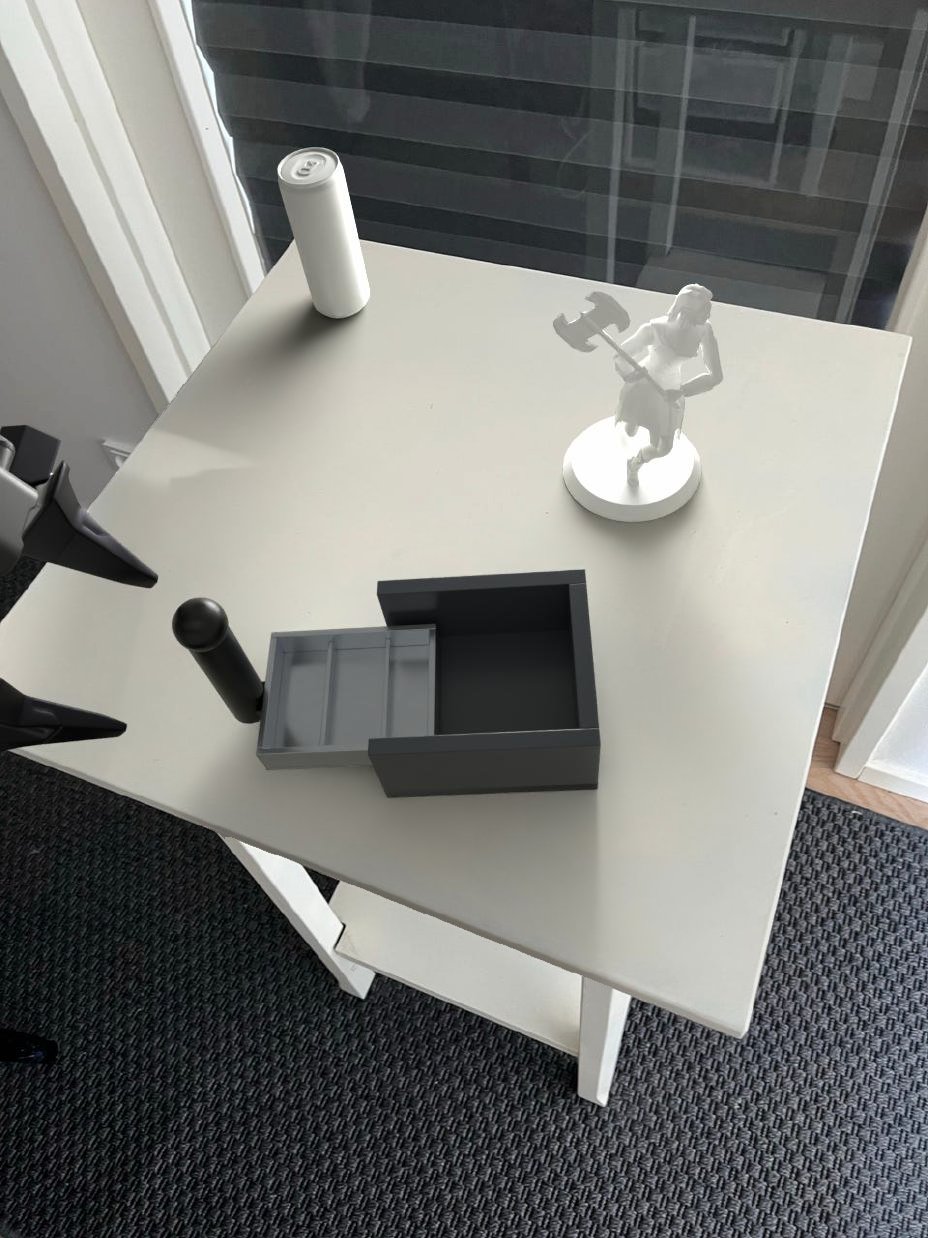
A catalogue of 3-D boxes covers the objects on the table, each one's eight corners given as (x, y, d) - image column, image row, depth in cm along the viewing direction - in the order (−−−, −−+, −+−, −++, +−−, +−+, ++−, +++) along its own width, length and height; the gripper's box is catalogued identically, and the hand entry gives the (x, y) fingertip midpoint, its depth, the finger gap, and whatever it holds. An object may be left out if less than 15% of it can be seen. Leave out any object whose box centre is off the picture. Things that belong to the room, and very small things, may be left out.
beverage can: (381, 289, 77) (353, 151, 67) (354, 327, 75) (320, 190, 65) (331, 278, 79) (296, 141, 68) (303, 314, 76) (262, 178, 66)
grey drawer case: (386, 798, 53) (367, 755, 48) (393, 634, 59) (377, 580, 54) (597, 790, 52) (600, 745, 47) (583, 623, 58) (585, 568, 53)
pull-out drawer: (222, 772, 54) (149, 681, 44) (239, 652, 58) (176, 547, 49) (438, 763, 53) (410, 668, 43) (440, 642, 57) (415, 532, 48)
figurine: (556, 522, 62) (551, 303, 47) (558, 418, 67) (555, 190, 52) (706, 521, 61) (750, 297, 46) (697, 416, 66) (735, 182, 51)
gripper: (-255, 650, 31) (178, 768, 40) (-82, 288, 41) (234, 443, 50) (-292, 755, 39) (81, 836, 47) (-138, 425, 48) (147, 541, 57)
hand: (140, 653), depth 50 cm, fingers open, 9 cm apart
